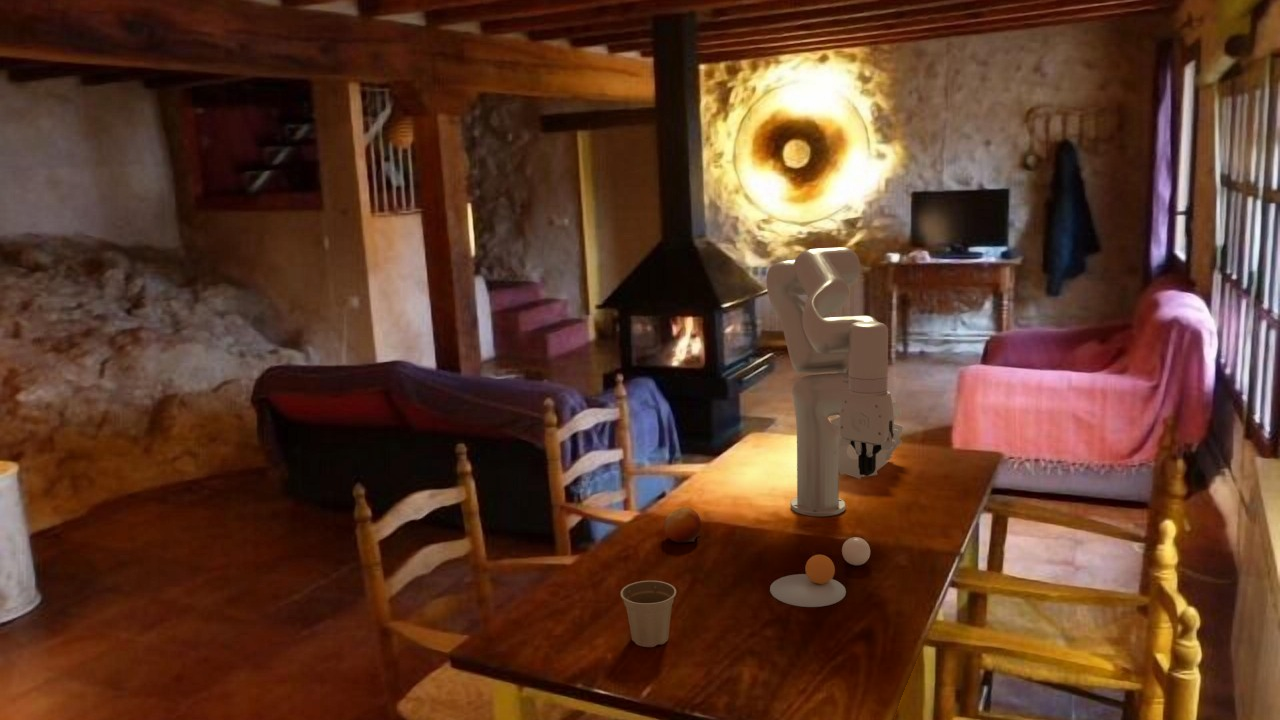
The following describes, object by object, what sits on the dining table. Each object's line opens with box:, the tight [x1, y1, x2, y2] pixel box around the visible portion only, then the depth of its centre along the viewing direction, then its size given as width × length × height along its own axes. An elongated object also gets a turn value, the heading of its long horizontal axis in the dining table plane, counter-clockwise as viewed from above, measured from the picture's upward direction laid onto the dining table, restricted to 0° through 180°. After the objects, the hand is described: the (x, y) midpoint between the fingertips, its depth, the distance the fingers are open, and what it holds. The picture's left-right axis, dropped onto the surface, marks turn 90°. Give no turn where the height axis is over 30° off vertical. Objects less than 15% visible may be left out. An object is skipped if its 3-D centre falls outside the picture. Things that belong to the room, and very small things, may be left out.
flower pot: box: [620, 580, 677, 648], centre depth 162 cm, size 9×9×9 cm
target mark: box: [769, 573, 847, 608], centre depth 179 cm, size 14×14×1 cm
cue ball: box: [841, 536, 871, 566], centre depth 189 cm, size 6×6×6 cm
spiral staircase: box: [829, 400, 904, 480], centre depth 249 cm, size 18×18×25 cm
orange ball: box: [804, 554, 836, 584], centre depth 181 cm, size 6×6×6 cm
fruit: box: [663, 506, 702, 544], centre depth 206 cm, size 8×8×8 cm
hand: (866, 473), depth 192 cm, fingers closed
